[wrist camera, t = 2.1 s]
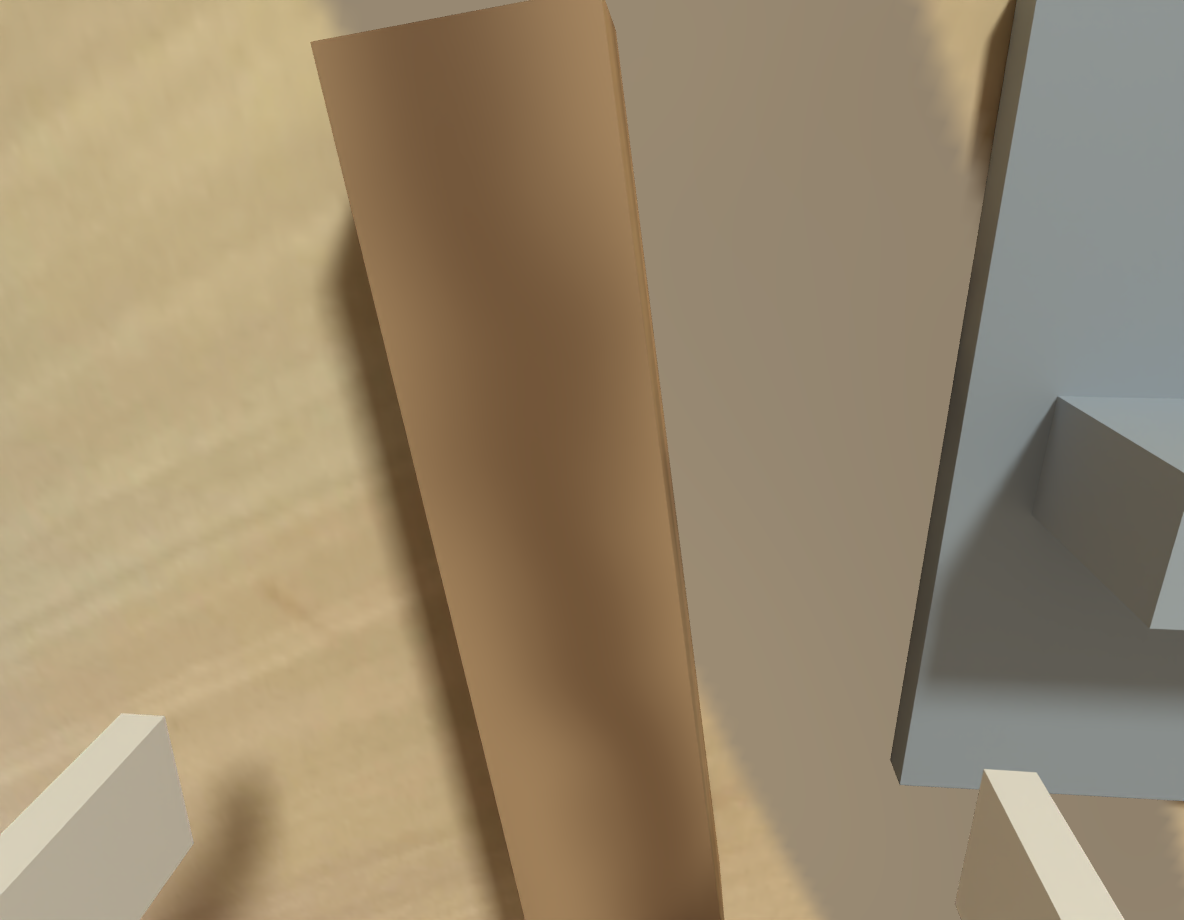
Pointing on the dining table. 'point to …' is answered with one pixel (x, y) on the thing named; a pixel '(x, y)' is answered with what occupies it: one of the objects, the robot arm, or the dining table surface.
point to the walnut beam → (538, 435)
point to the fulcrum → (1065, 430)
